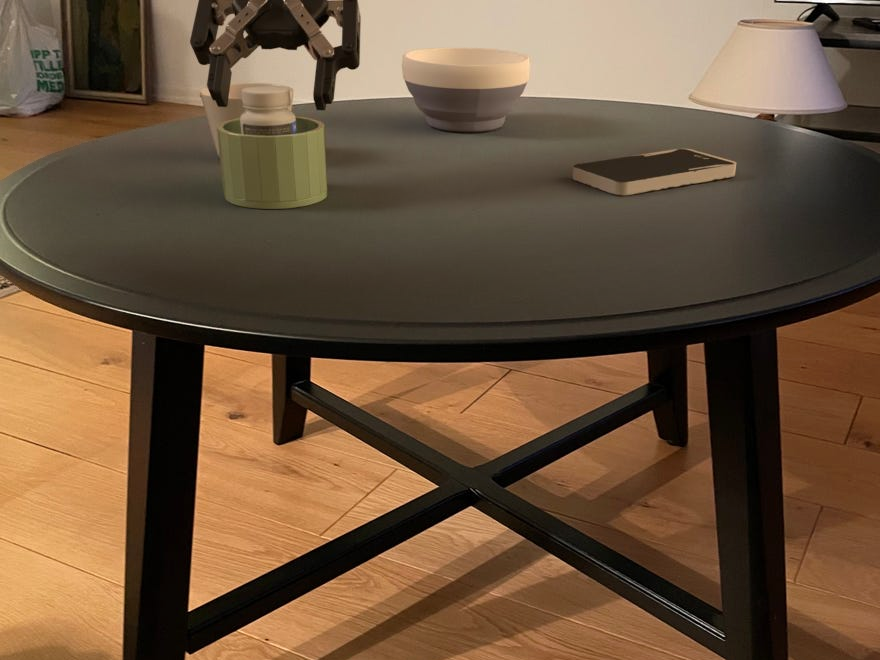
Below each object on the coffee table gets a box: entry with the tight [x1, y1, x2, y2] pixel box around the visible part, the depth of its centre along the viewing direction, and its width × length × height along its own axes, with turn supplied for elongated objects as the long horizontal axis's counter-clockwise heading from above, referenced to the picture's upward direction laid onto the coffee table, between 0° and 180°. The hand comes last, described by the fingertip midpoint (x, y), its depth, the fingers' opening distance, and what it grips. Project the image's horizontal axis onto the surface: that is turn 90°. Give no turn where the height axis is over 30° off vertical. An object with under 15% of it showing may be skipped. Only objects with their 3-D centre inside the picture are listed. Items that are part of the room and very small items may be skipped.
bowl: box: [401, 46, 531, 134], centre depth 117 cm, size 14×14×8 cm
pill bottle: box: [240, 85, 297, 136], centre depth 89 cm, size 5×5×8 cm
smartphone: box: [572, 148, 737, 197], centre depth 99 cm, size 8×1×15 cm
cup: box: [217, 115, 329, 210], centre depth 90 cm, size 9×9×6 cm
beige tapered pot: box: [199, 82, 294, 158], centre depth 102 cm, size 9×9×6 cm
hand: (269, 103), depth 87 cm, fingers open, 8 cm apart
